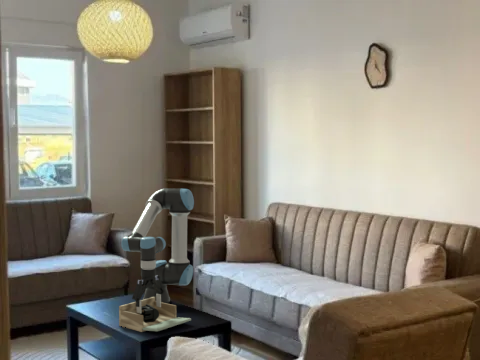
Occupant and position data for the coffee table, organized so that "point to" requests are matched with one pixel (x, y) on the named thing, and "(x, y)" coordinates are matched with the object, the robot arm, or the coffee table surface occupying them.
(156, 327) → the panel
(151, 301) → the wooden tray box
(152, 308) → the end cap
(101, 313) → the coffee table surface
